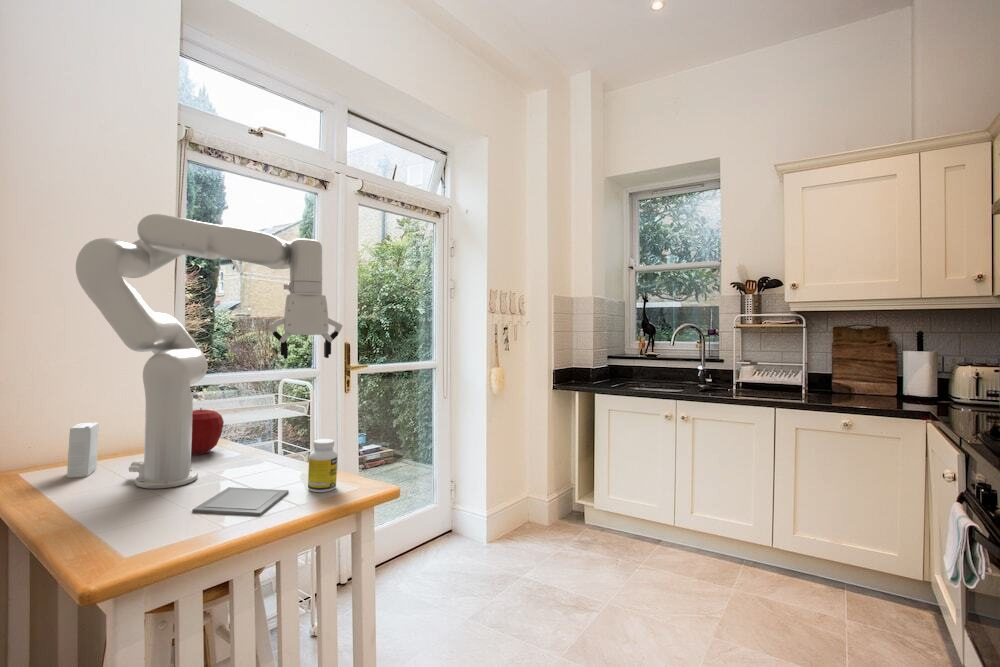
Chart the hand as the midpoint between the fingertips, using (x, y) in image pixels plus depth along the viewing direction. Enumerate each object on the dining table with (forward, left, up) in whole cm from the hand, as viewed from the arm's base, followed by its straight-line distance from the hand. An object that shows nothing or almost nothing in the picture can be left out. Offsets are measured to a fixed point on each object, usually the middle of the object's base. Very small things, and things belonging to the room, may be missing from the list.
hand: (306, 358), depth 127 cm
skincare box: (-52, -3, -31) cm, 61 cm away
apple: (-37, +20, -31) cm, 52 cm away
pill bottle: (+7, -5, -31) cm, 32 cm away
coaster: (-6, -16, -31) cm, 35 cm away
